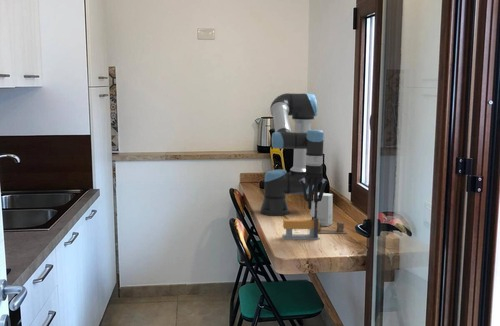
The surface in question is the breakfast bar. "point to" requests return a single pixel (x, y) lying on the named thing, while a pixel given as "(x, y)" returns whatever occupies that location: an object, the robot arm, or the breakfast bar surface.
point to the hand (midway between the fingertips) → (312, 216)
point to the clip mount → (298, 235)
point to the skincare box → (325, 209)
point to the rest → (333, 231)
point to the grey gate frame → (315, 224)
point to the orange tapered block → (299, 224)
